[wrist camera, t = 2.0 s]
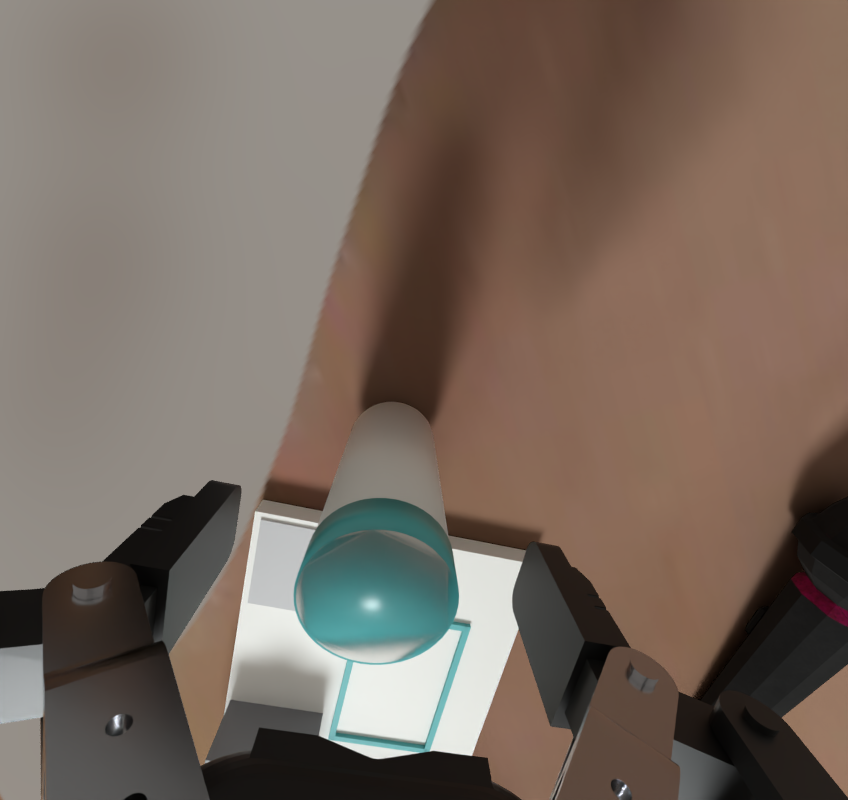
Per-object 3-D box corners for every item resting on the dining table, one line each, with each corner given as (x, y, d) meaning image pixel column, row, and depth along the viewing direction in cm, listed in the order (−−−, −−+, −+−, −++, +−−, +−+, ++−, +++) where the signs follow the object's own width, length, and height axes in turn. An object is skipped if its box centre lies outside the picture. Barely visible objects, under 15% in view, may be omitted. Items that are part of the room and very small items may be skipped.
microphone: (663, 719, 29) (874, 474, 21) (740, 833, 24) (1049, 567, 17) (600, 732, 27) (811, 464, 19) (672, 858, 22) (991, 566, 14)
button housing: (230, 699, 22) (205, 760, 19) (323, 713, 22) (311, 774, 19) (220, 766, 23) (195, 831, 20) (308, 777, 23) (295, 843, 21)
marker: (361, 384, 18) (308, 512, 9) (441, 402, 19) (478, 545, 9) (345, 459, 19) (281, 651, 10) (422, 474, 20) (436, 675, 10)
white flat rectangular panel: (262, 499, 20) (253, 513, 19) (535, 552, 21) (543, 568, 20) (222, 754, 24) (213, 779, 23) (451, 785, 25) (453, 810, 24)
